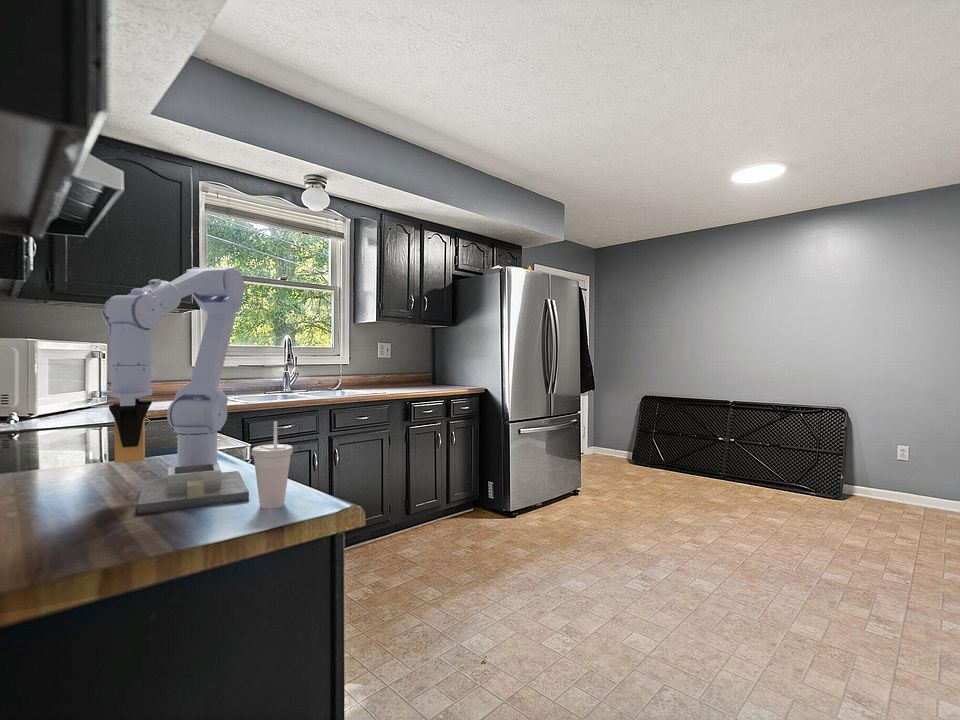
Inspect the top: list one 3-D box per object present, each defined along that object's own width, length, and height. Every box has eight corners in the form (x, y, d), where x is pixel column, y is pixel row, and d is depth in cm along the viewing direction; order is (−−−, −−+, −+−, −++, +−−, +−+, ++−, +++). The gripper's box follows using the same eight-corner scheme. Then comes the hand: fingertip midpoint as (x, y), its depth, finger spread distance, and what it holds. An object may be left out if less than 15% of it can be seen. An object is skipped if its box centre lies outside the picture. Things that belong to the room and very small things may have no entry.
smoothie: (278, 512, 83) (278, 424, 83) (242, 510, 85) (242, 423, 85) (300, 501, 90) (300, 419, 90) (266, 499, 91) (266, 418, 91)
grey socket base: (143, 487, 98) (143, 463, 98) (238, 478, 106) (238, 456, 106) (137, 514, 82) (137, 485, 82) (248, 500, 90) (249, 474, 90)
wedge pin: (117, 458, 91) (117, 412, 91) (144, 456, 93) (144, 411, 93) (114, 463, 88) (114, 415, 88) (143, 460, 90) (142, 413, 90)
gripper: (108, 364, 95) (108, 439, 95) (96, 366, 82) (96, 453, 82) (154, 364, 98) (154, 436, 98) (149, 366, 85) (150, 449, 86)
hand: (131, 444), depth 91 cm, fingers closed on wedge pin, 4 cm apart
